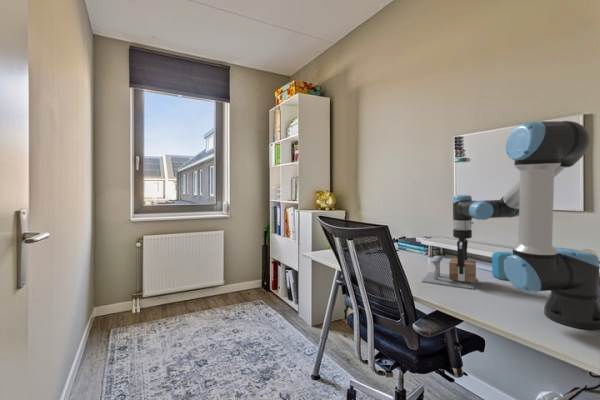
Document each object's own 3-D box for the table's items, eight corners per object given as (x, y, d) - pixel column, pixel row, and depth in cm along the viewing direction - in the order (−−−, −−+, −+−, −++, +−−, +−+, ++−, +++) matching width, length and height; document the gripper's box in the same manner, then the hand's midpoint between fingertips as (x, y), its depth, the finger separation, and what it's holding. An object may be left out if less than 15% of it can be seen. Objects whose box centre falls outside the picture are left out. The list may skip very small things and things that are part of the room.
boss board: (473, 289, 129) (473, 266, 128) (422, 282, 141) (421, 261, 140) (476, 279, 142) (476, 258, 142) (429, 273, 154) (429, 253, 154)
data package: (516, 275, 145) (516, 251, 144) (523, 278, 140) (523, 253, 140) (492, 276, 145) (491, 252, 144) (498, 279, 140) (498, 254, 140)
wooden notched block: (474, 282, 133) (474, 264, 132) (449, 279, 138) (449, 262, 138) (475, 278, 138) (475, 261, 138) (451, 275, 144) (451, 258, 144)
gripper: (469, 232, 127) (469, 286, 128) (473, 226, 143) (473, 273, 144) (449, 231, 131) (450, 283, 132) (456, 225, 147) (456, 271, 149)
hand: (462, 278), depth 138 cm, fingers closed on wooden notched block, 7 cm apart
